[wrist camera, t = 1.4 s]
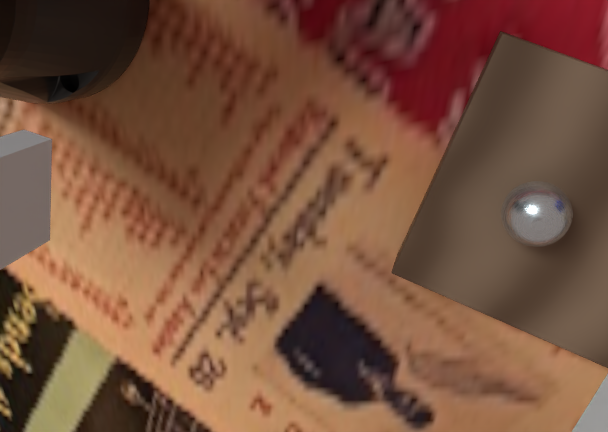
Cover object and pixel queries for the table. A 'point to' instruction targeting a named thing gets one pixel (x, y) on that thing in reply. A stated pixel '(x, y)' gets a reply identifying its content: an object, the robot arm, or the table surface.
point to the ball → (536, 213)
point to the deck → (508, 175)
